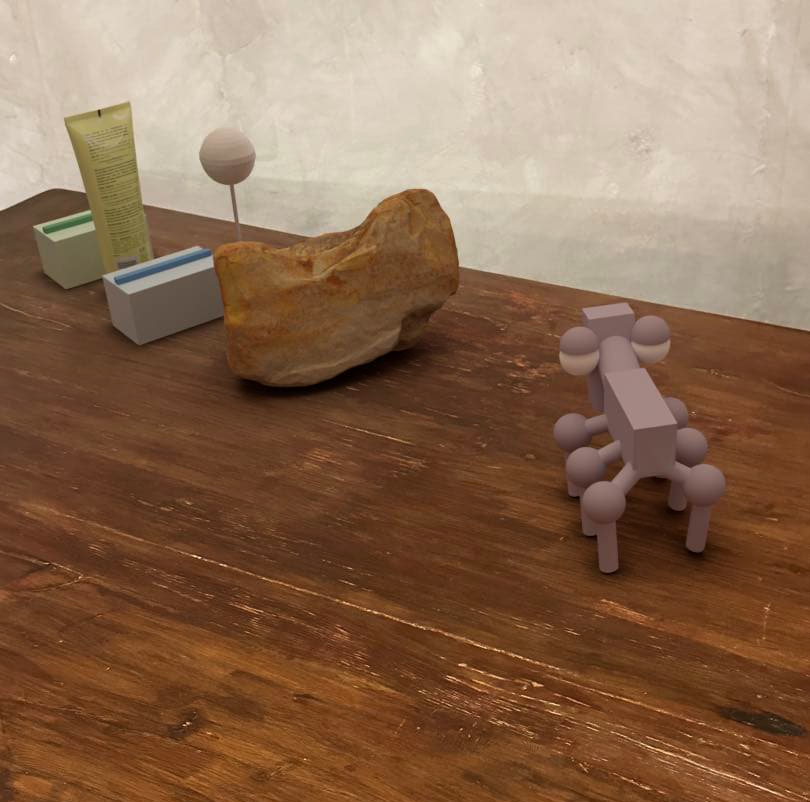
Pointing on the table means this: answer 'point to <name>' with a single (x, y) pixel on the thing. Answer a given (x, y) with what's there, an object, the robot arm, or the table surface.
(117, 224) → the tube
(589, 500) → the mauve legged toy figure
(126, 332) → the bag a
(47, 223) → the pale green box
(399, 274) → the orange sandstone rock
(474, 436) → the table surface
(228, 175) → the lollipop
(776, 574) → the table surface
